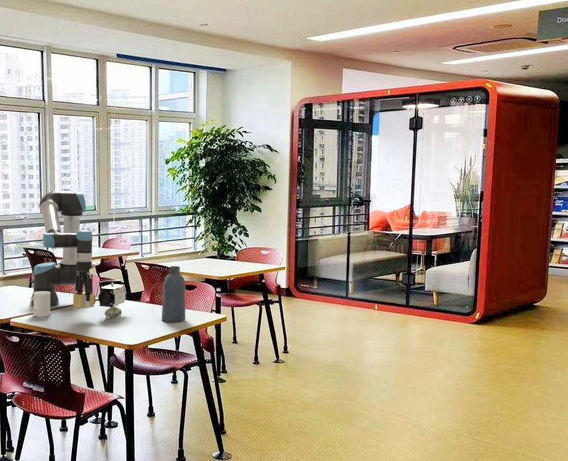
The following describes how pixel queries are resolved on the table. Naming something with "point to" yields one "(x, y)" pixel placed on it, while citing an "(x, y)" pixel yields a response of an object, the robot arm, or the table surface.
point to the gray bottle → (174, 297)
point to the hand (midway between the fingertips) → (83, 306)
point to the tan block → (82, 300)
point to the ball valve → (112, 299)
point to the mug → (41, 304)
